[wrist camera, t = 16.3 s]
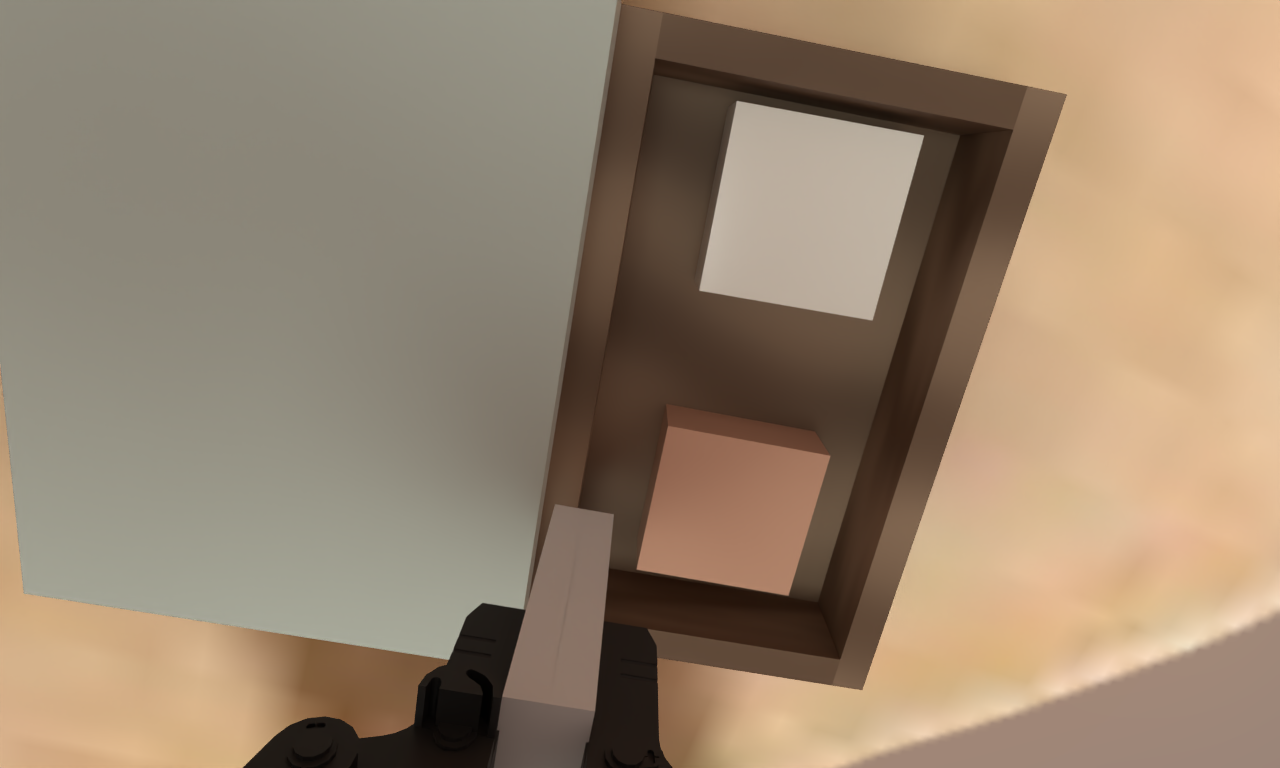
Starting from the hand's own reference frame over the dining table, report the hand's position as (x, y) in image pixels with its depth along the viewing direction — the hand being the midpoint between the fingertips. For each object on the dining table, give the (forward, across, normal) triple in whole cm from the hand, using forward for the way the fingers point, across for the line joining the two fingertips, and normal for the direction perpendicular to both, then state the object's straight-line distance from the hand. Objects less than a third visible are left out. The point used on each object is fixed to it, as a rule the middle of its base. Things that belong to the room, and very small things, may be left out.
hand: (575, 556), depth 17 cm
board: (+6, -8, +4) cm, 11 cm away
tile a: (+4, +4, +9) cm, 11 cm away
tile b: (+4, +4, 0) cm, 6 cm away
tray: (+6, +4, +4) cm, 9 cm away
